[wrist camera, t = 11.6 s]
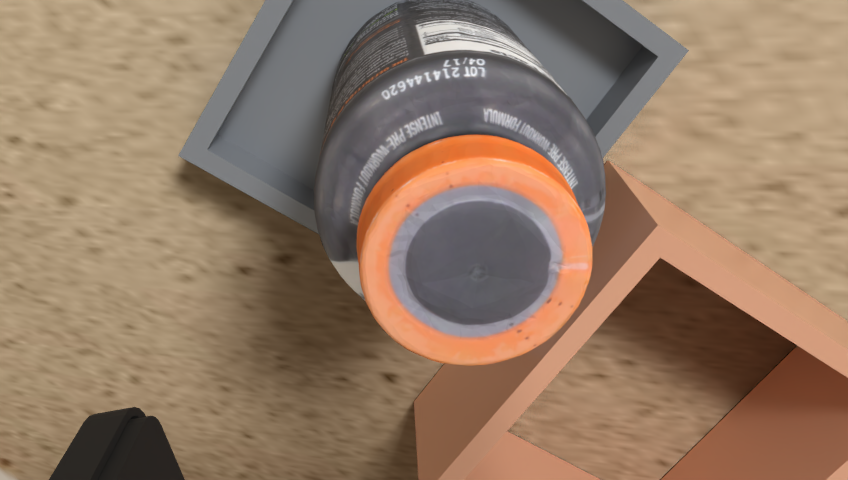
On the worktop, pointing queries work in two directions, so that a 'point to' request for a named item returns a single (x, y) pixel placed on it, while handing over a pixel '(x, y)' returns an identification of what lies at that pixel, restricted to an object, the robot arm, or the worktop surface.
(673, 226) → the frame
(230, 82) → the charcoal tray
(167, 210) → the worktop surface
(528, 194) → the pill bottle
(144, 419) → the robot arm
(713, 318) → the worktop surface
